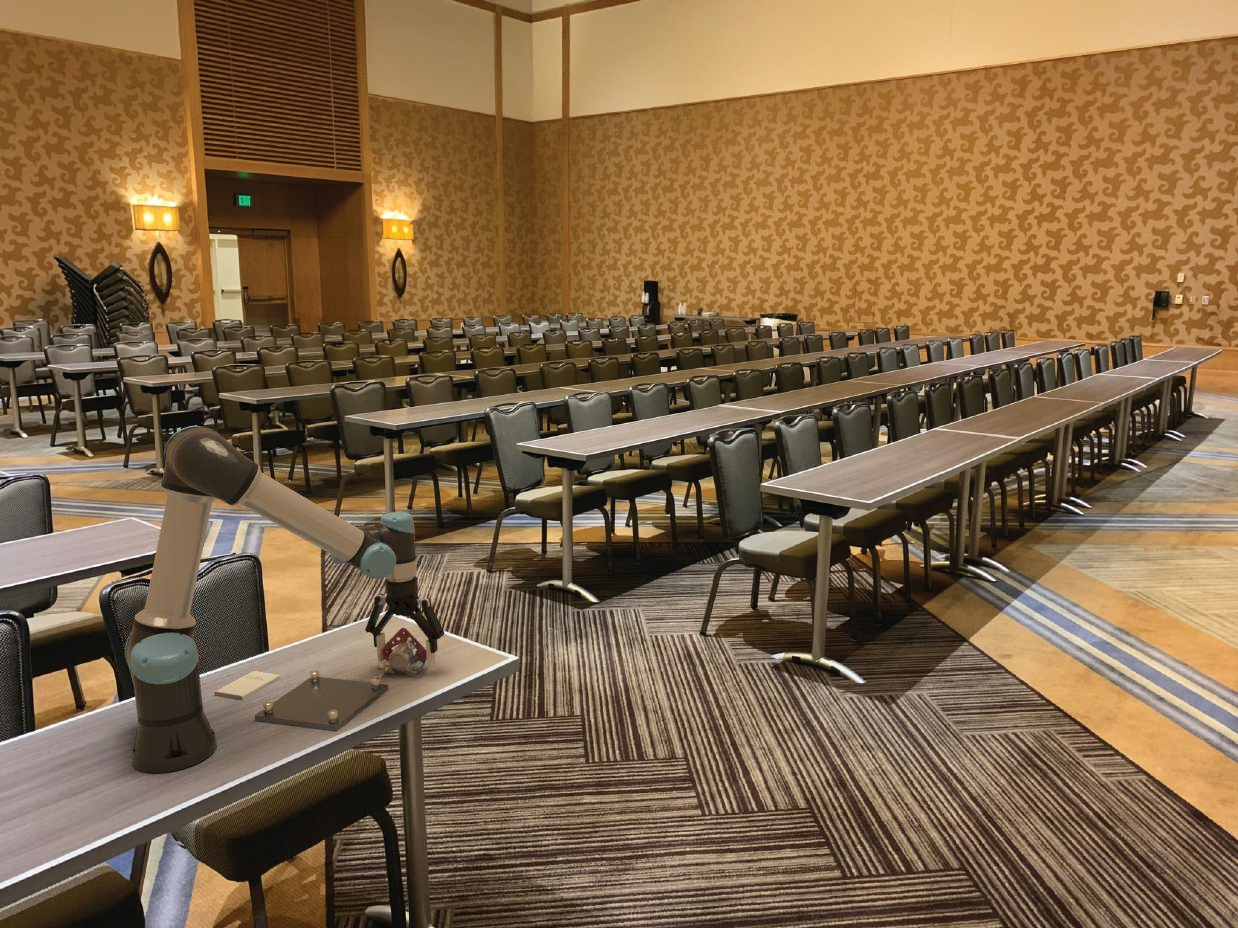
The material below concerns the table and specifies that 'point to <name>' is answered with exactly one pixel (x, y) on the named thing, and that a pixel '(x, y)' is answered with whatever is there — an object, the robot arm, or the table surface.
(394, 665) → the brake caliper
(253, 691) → the light wooden board
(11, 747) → the table surface
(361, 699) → the mounting plate
